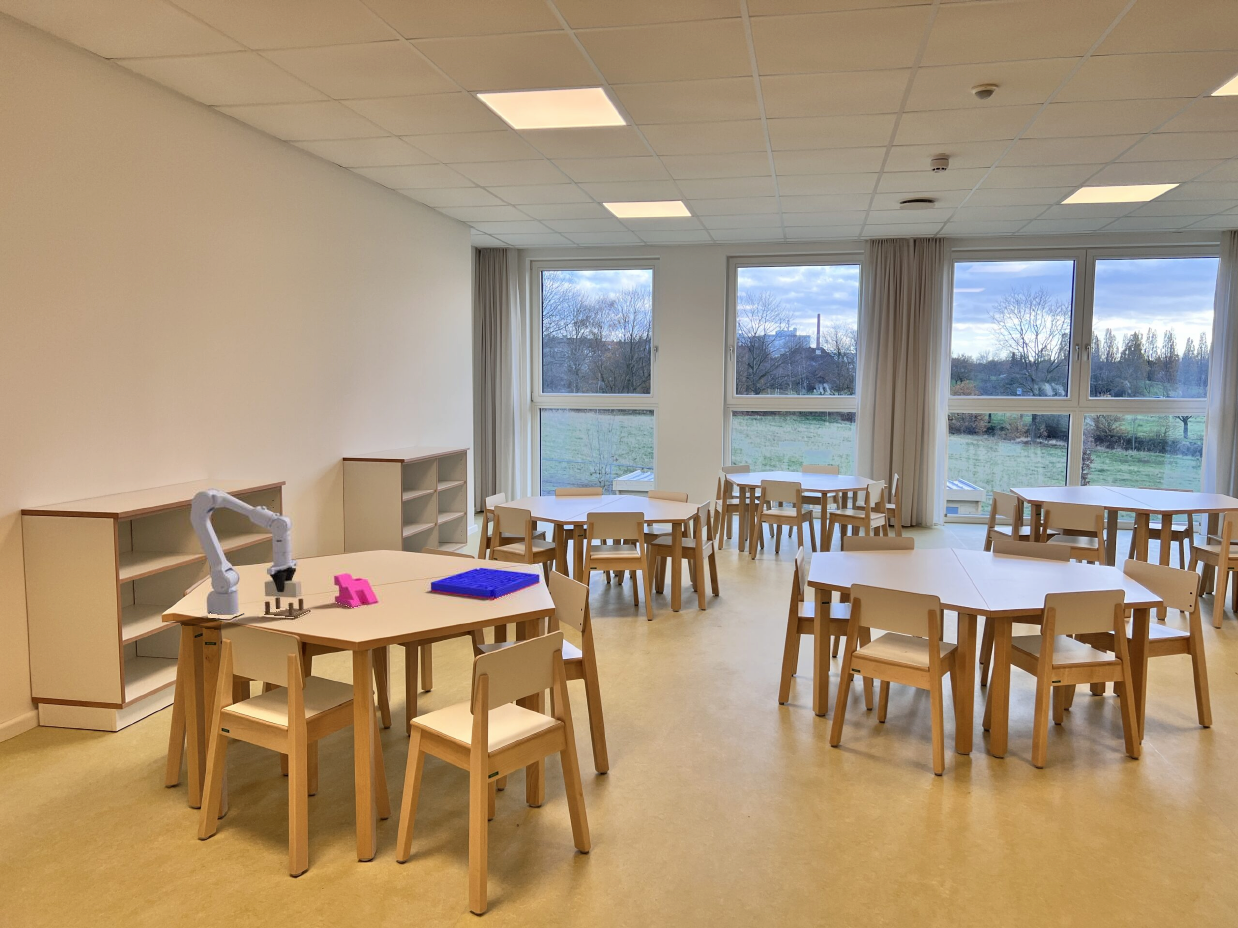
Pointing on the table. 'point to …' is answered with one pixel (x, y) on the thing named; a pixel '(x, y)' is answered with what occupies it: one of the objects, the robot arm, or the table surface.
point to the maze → (485, 583)
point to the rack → (287, 612)
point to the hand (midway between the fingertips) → (283, 590)
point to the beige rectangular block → (289, 589)
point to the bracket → (353, 591)
